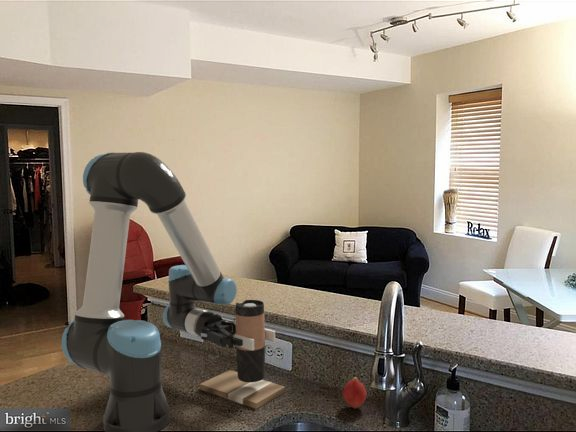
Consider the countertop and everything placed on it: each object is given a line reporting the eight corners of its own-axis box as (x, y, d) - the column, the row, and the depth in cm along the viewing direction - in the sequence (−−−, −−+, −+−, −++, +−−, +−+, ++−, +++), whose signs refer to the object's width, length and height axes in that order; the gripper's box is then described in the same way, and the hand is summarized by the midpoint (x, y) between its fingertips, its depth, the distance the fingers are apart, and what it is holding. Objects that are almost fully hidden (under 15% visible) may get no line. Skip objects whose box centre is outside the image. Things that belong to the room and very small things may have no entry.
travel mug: (264, 382, 131) (263, 307, 129) (235, 383, 131) (233, 307, 129) (266, 371, 139) (265, 299, 137) (238, 371, 139) (236, 299, 137)
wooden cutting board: (285, 392, 136) (285, 386, 136) (256, 409, 126) (256, 403, 126) (230, 374, 148) (229, 369, 148) (199, 389, 138) (199, 383, 138)
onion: (338, 408, 126) (338, 377, 126) (351, 400, 131) (351, 370, 130) (357, 415, 122) (357, 383, 122) (370, 407, 127) (371, 376, 126)
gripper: (230, 327, 154) (289, 343, 139) (176, 346, 138) (236, 366, 123) (229, 303, 153) (288, 317, 138) (175, 319, 137) (235, 337, 123)
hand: (264, 340), depth 131 cm, fingers closed on travel mug, 7 cm apart
